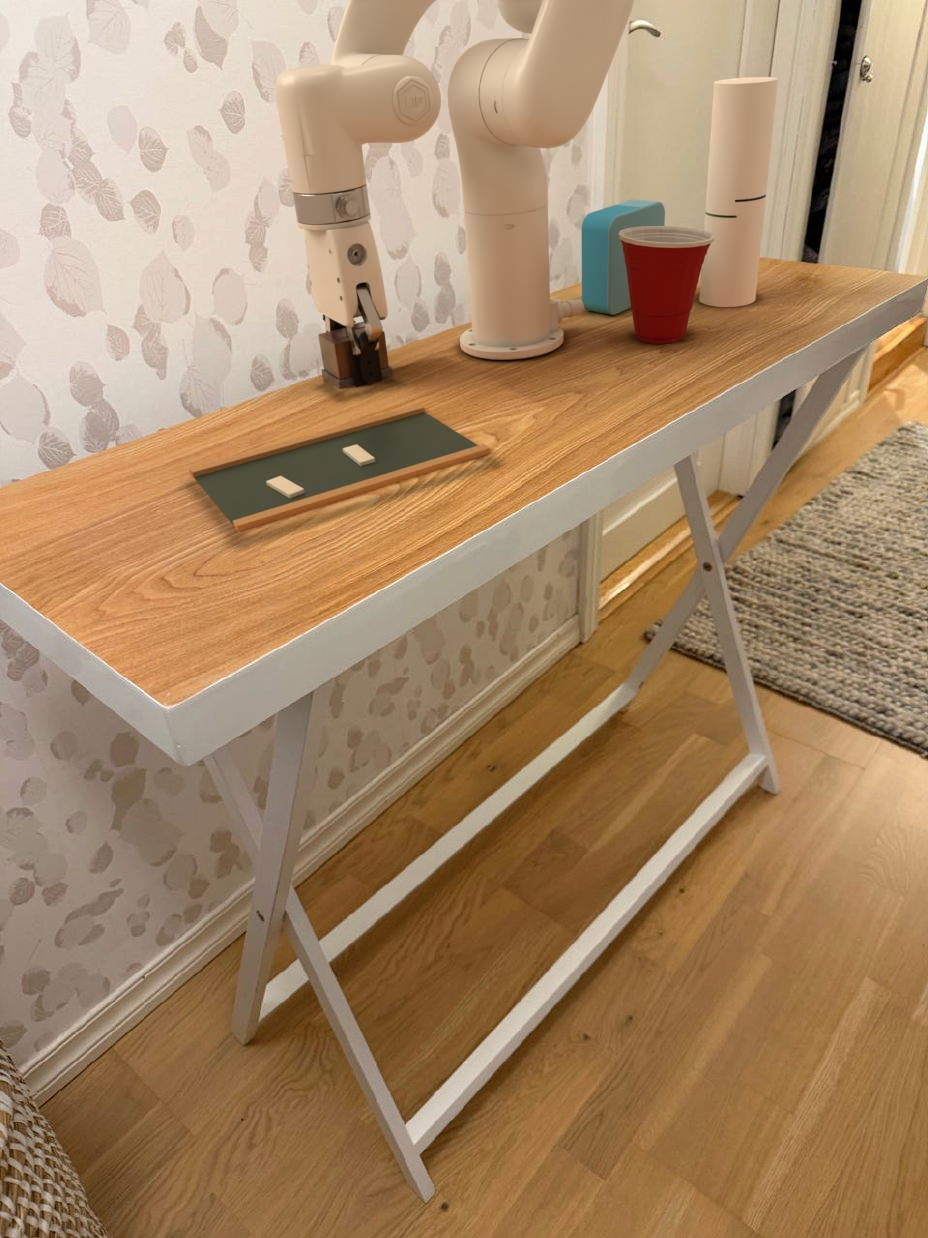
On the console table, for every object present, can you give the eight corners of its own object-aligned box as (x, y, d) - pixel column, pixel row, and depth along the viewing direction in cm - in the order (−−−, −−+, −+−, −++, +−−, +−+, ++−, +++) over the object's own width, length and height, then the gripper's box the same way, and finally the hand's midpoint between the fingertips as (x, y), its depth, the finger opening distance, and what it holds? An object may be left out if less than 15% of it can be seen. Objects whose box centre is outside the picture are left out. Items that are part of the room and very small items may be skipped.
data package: (634, 290, 128) (637, 196, 122) (662, 294, 126) (666, 199, 119) (580, 312, 121) (580, 215, 115) (608, 318, 119) (610, 218, 112)
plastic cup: (726, 340, 108) (735, 231, 102) (644, 356, 106) (648, 246, 99) (677, 317, 117) (682, 215, 110) (600, 332, 114) (601, 228, 108)
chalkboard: (420, 419, 95) (418, 403, 94) (491, 464, 85) (490, 447, 84) (193, 484, 86) (188, 467, 85) (241, 544, 76) (236, 525, 75)
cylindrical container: (761, 304, 119) (785, 80, 105) (705, 308, 119) (721, 85, 105) (748, 289, 125) (769, 75, 111) (694, 293, 125) (708, 80, 111)
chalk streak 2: (357, 447, 87) (356, 443, 87) (375, 461, 84) (375, 457, 84) (342, 452, 87) (342, 448, 86) (360, 466, 84) (360, 462, 84)
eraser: (323, 386, 105) (314, 334, 102) (375, 372, 108) (368, 321, 104) (341, 398, 102) (332, 344, 98) (394, 384, 104) (387, 331, 101)
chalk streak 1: (281, 479, 83) (280, 475, 82) (305, 492, 80) (304, 488, 80) (266, 485, 82) (265, 480, 82) (290, 498, 79) (289, 494, 79)
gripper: (402, 211, 89) (422, 392, 100) (333, 191, 102) (356, 353, 112) (331, 225, 86) (359, 410, 97) (268, 202, 99) (299, 368, 109)
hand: (357, 378), depth 104 cm, fingers closed on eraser, 5 cm apart
